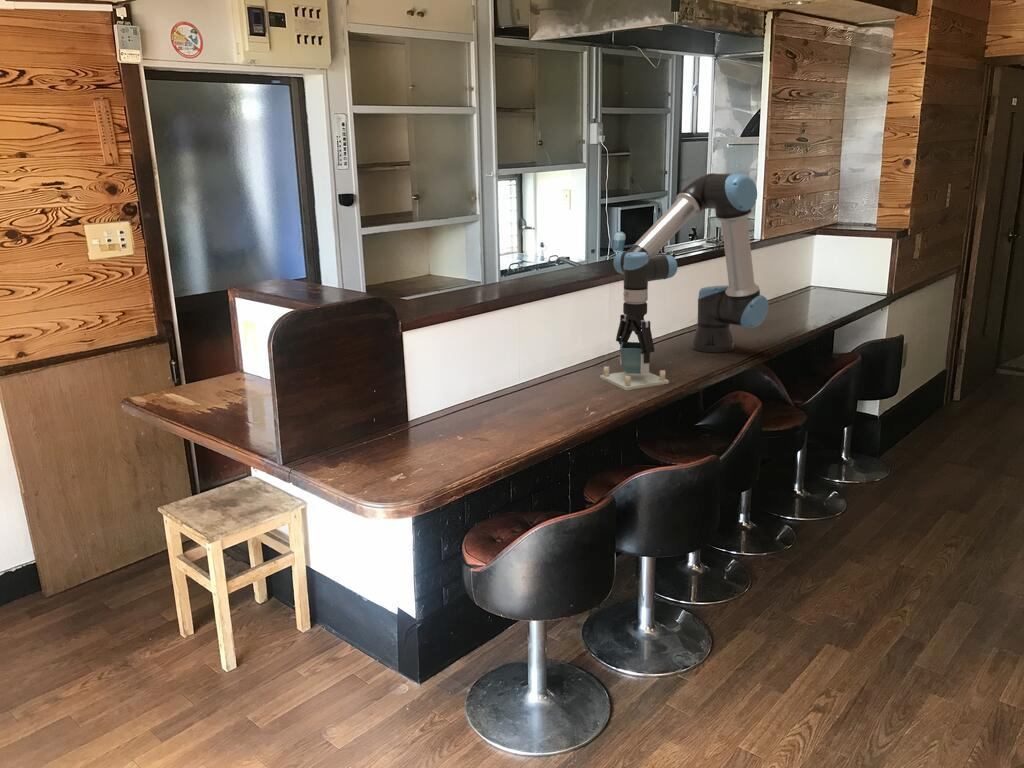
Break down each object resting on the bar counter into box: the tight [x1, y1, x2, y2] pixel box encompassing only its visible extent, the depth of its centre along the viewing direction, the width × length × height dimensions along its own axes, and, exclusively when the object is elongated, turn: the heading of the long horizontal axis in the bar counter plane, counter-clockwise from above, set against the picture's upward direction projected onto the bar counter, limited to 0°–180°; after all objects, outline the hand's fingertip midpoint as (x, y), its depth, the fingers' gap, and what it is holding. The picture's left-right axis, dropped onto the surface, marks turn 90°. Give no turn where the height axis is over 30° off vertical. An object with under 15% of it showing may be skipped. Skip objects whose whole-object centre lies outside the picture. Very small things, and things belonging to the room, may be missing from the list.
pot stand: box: [599, 365, 670, 391], centre depth 271 cm, size 16×16×4 cm
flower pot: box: [619, 341, 646, 374], centre depth 269 cm, size 9×9×9 cm
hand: (634, 368), depth 270 cm, fingers closed on flower pot, 12 cm apart
